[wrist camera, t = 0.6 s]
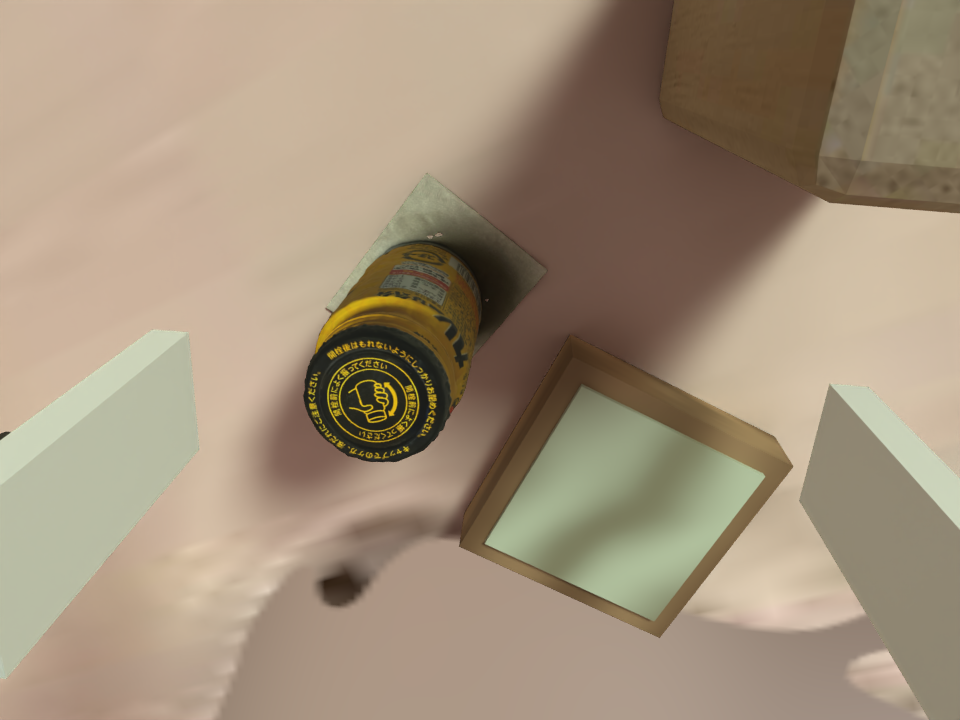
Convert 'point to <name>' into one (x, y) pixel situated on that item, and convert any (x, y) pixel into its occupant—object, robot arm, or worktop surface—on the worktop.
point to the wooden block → (826, 93)
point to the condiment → (412, 326)
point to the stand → (620, 489)
